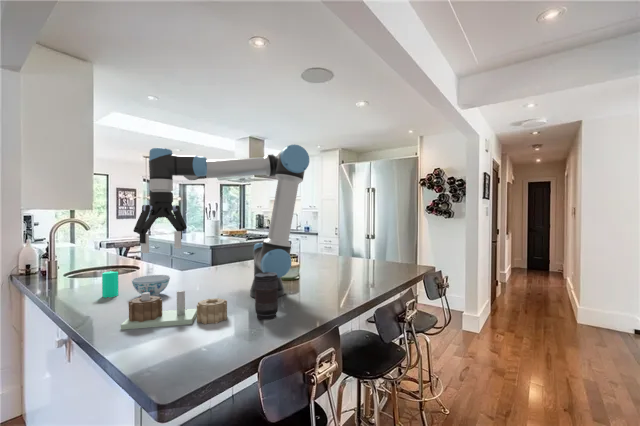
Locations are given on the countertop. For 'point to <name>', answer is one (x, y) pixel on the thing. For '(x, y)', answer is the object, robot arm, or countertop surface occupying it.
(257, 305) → the camera lens
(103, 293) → the candle
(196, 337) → the countertop surface
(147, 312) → the walnut gear
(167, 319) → the gear board
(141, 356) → the countertop surface
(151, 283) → the chinaware
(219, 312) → the maple gear
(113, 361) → the countertop surface
